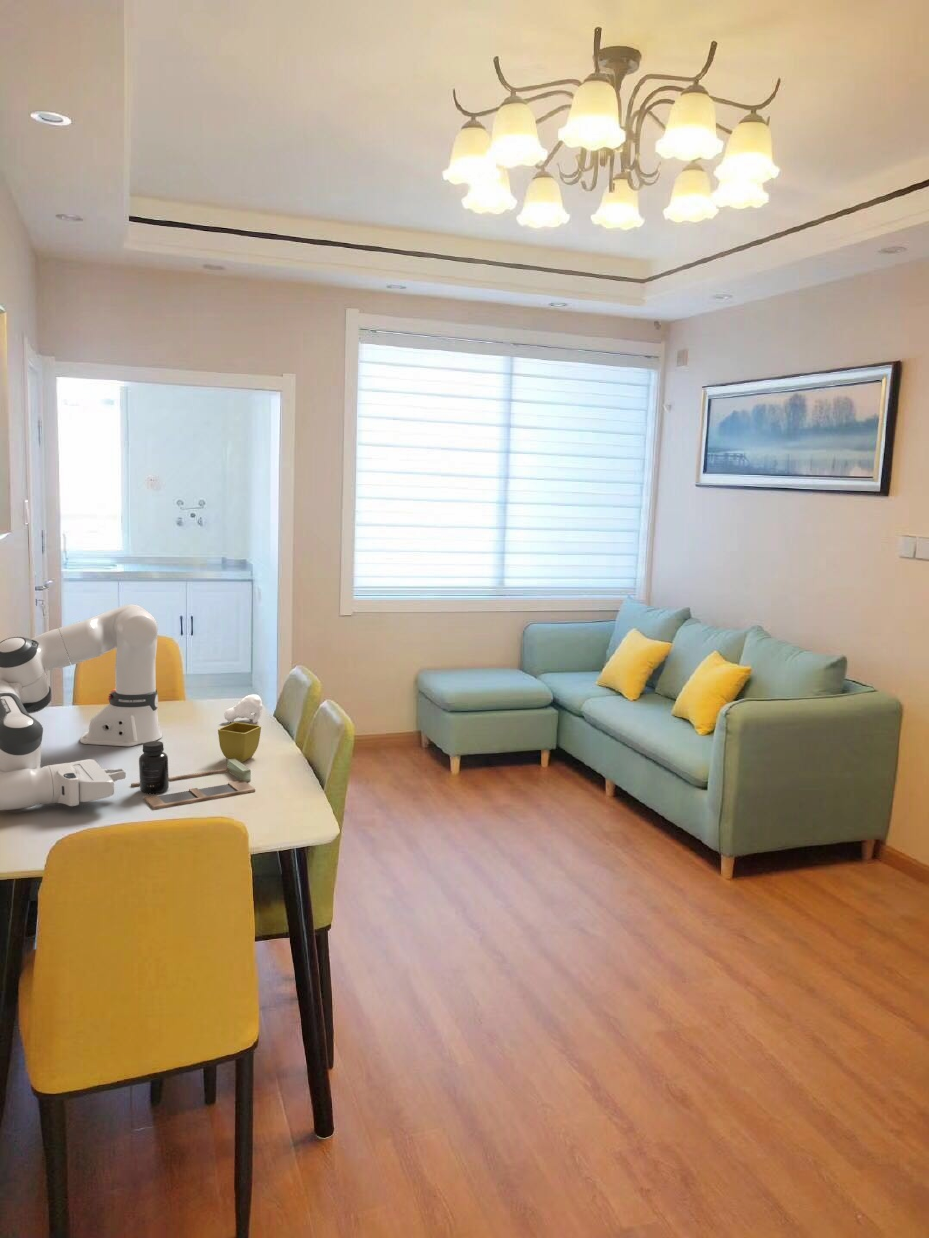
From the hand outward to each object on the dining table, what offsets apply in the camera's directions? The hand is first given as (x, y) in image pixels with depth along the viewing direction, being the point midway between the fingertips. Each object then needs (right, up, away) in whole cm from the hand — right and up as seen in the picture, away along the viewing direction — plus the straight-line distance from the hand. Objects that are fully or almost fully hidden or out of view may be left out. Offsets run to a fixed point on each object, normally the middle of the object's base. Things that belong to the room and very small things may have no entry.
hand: (124, 773), depth 222 cm
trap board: (+15, -5, +7) cm, 17 cm away
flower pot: (+20, -2, +32) cm, 38 cm away
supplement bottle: (+6, -5, +5) cm, 9 cm away
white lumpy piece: (+12, +4, +70) cm, 71 cm away
